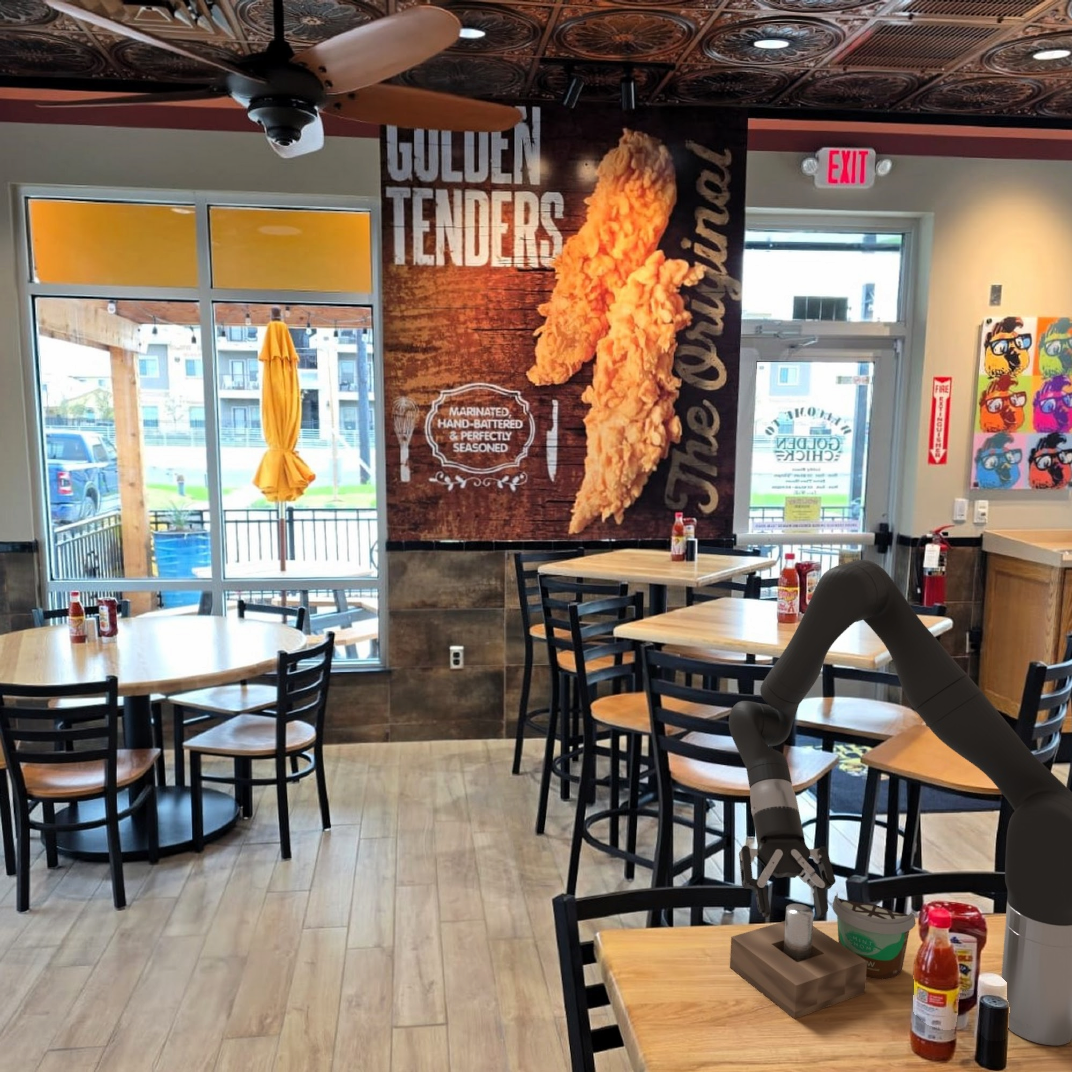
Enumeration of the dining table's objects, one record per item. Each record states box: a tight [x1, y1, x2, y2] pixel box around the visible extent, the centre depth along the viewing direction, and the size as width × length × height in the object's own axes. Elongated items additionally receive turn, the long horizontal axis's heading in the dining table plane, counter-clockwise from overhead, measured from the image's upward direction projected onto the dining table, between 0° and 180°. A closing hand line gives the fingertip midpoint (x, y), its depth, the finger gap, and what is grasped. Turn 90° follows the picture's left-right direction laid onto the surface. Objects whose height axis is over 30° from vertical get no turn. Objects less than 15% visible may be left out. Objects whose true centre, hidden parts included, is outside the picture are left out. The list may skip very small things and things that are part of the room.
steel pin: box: [783, 903, 815, 962], centre depth 135 cm, size 4×4×10 cm
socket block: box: [729, 920, 867, 1020], centre depth 136 cm, size 14×14×5 cm
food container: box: [832, 892, 916, 980], centre depth 138 cm, size 12×6×10 cm, turn 62°
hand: (794, 915), depth 137 cm, fingers open, 8 cm apart
